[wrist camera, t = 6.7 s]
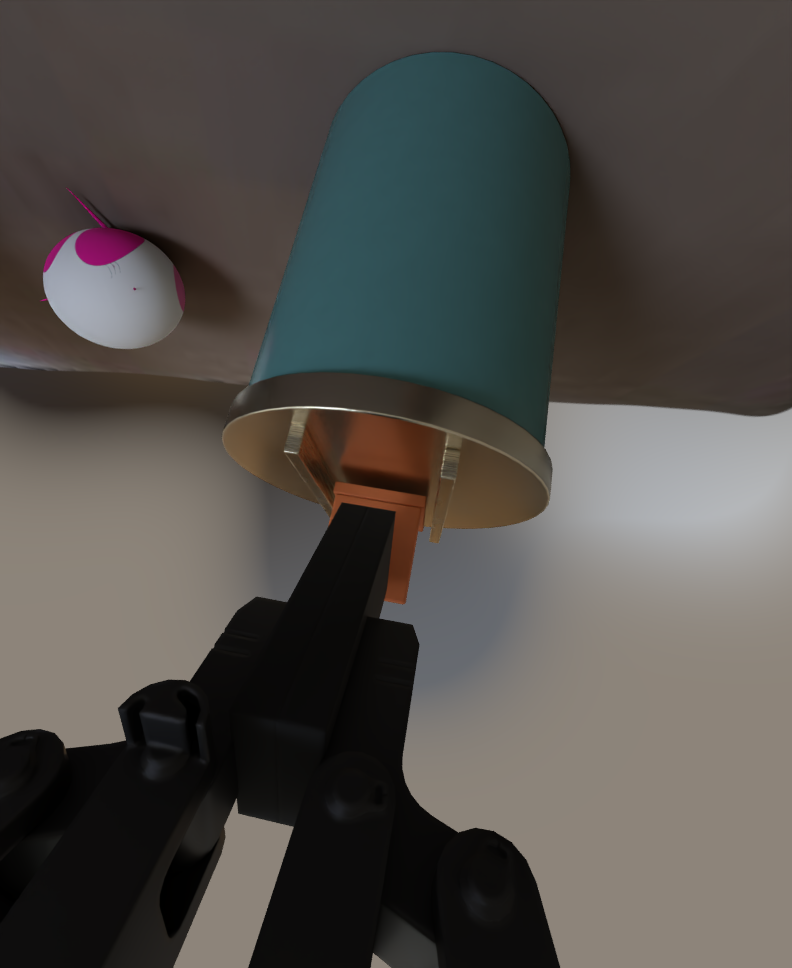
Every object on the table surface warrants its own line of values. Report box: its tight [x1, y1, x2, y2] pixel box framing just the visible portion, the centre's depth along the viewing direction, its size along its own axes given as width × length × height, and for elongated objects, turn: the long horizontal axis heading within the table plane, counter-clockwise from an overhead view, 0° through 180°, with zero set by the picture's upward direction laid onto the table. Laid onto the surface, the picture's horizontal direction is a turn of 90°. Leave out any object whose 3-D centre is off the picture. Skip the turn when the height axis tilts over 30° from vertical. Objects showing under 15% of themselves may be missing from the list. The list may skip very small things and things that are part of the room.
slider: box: [328, 481, 427, 604], centre depth 16 cm, size 4×3×3 cm
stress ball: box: [41, 187, 185, 349], centre depth 25 cm, size 8×8×7 cm
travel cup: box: [222, 52, 570, 543], centre depth 18 cm, size 11×11×14 cm
